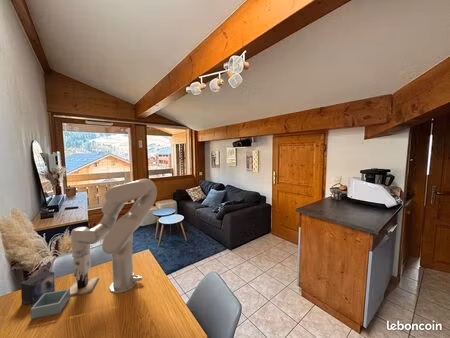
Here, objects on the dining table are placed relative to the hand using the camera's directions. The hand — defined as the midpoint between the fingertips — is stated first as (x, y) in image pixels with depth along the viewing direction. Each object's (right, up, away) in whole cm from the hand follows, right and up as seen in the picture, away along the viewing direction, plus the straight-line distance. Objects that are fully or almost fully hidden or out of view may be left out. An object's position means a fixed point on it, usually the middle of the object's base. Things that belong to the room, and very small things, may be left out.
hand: (82, 284), depth 101 cm
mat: (0, -2, 0) cm, 2 cm away
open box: (-4, -3, -14) cm, 15 cm away
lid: (0, -1, 0) cm, 1 cm away
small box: (-17, -3, -7) cm, 18 cm away
